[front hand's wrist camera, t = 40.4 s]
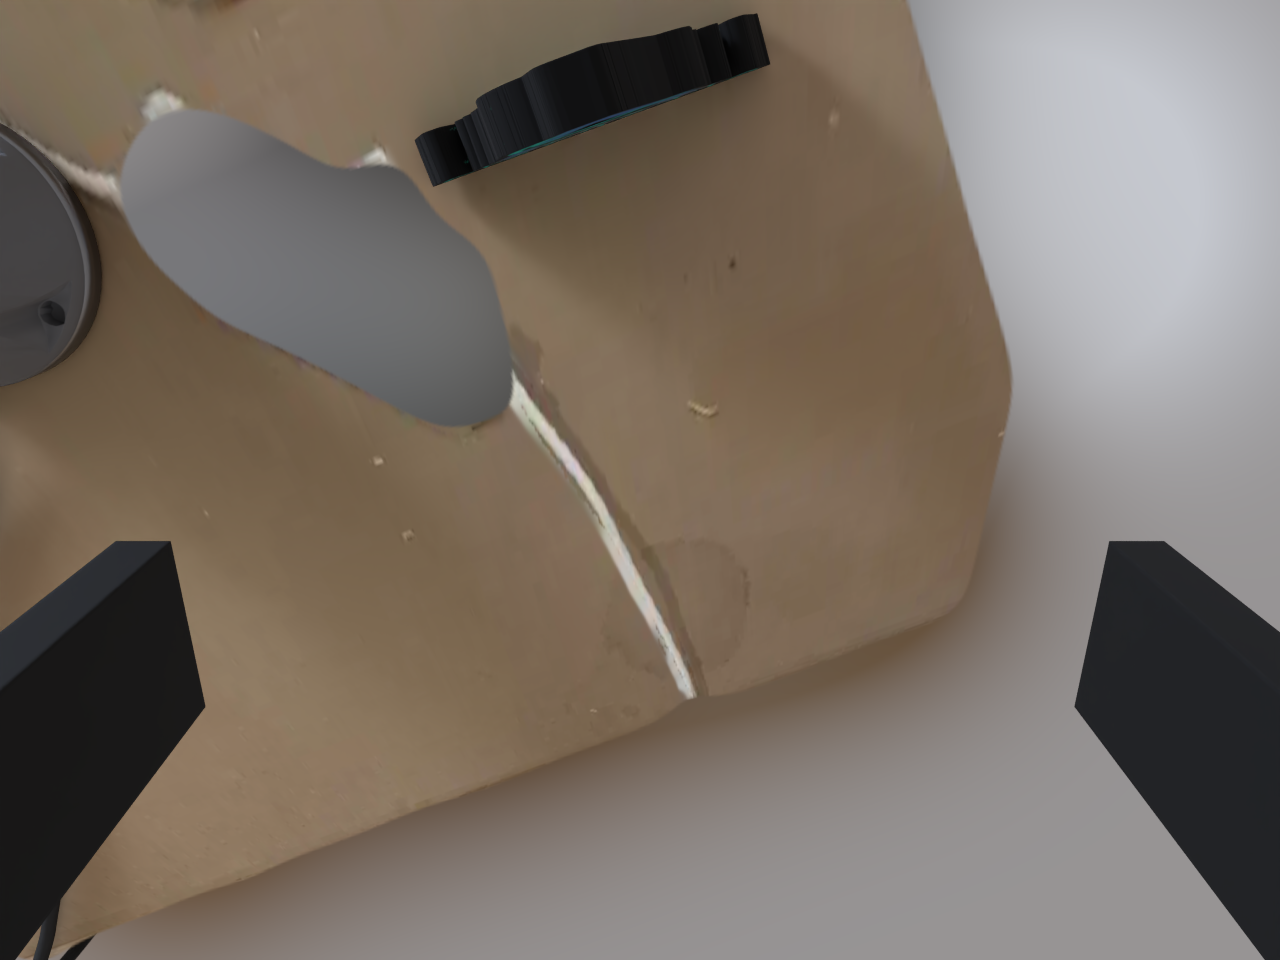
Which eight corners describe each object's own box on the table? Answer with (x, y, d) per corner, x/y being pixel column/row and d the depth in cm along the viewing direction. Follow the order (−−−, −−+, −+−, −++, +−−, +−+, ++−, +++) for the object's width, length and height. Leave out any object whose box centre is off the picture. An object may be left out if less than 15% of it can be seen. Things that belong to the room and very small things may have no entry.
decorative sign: (755, 15, 46) (806, -35, 32) (768, 65, 47) (823, 37, 33) (417, 140, 48) (326, 145, 34) (435, 185, 49) (354, 208, 35)
